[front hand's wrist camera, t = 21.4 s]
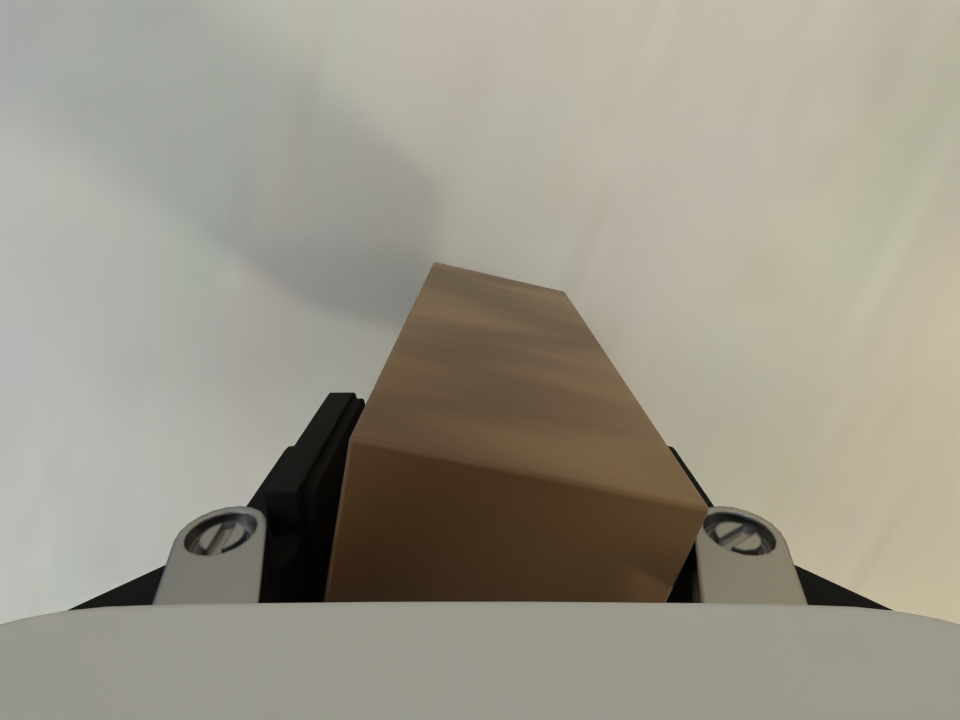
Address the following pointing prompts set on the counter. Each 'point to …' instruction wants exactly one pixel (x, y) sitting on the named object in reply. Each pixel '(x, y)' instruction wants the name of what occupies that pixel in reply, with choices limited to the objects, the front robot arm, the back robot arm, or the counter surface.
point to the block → (506, 462)
